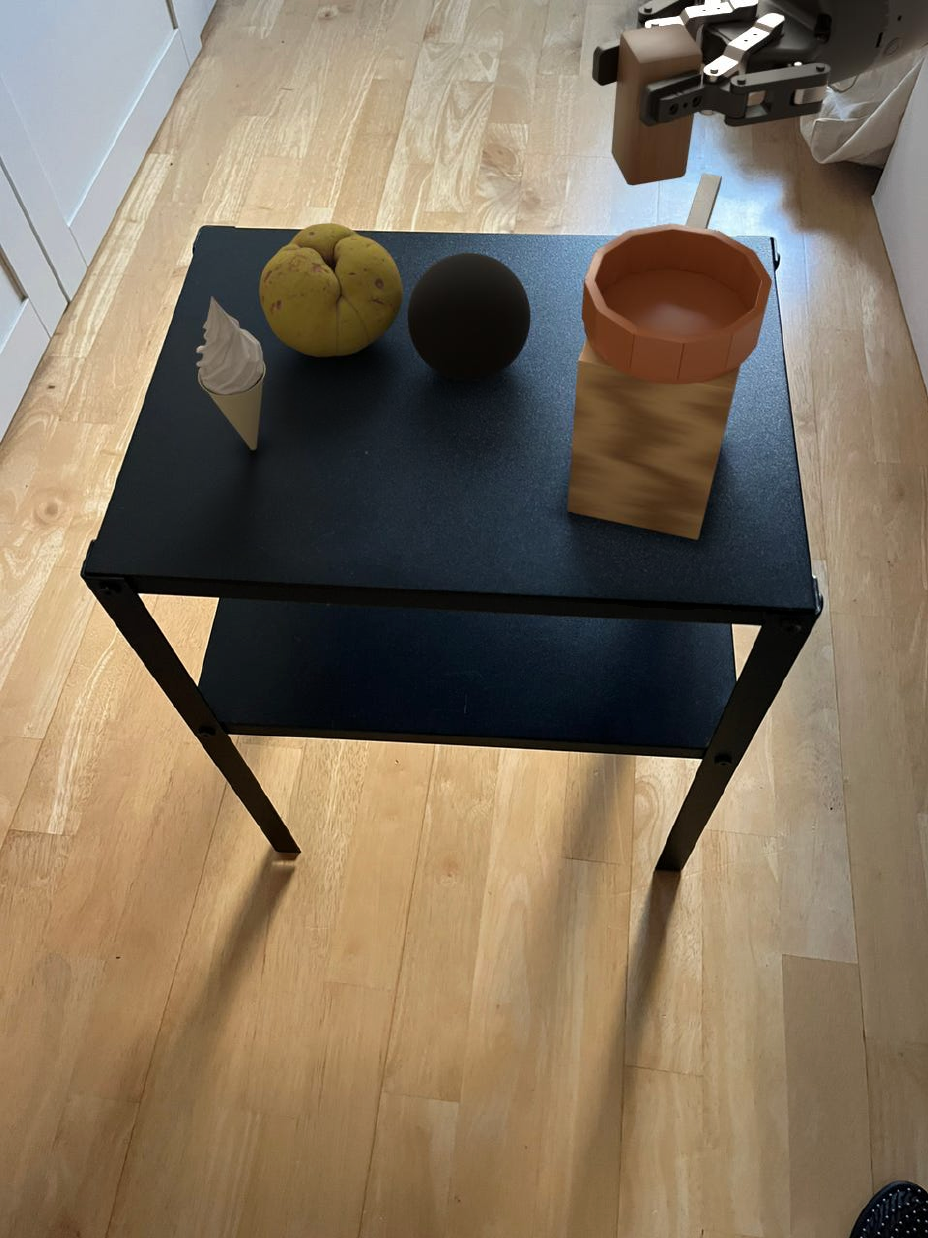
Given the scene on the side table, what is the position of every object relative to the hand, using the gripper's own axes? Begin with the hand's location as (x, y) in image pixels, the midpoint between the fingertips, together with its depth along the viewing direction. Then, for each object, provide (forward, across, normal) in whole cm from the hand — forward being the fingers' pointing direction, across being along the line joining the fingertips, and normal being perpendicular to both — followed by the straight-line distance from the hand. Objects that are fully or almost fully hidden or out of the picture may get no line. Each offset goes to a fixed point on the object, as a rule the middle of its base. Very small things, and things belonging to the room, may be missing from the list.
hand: (620, 86), depth 62 cm
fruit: (+14, -19, +28) cm, 36 cm away
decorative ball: (+6, -11, +28) cm, 30 cm away
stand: (0, +7, +28) cm, 28 cm away
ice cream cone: (+25, -11, +28) cm, 39 cm away
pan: (-3, +5, +12) cm, 14 cm away
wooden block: (-3, 0, +6) cm, 7 cm away
